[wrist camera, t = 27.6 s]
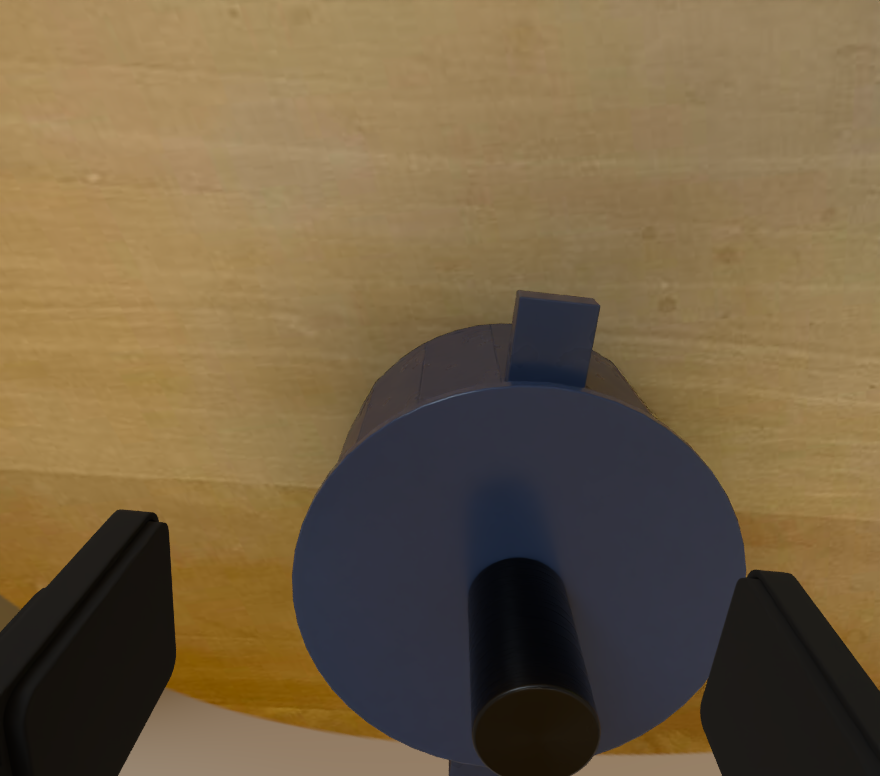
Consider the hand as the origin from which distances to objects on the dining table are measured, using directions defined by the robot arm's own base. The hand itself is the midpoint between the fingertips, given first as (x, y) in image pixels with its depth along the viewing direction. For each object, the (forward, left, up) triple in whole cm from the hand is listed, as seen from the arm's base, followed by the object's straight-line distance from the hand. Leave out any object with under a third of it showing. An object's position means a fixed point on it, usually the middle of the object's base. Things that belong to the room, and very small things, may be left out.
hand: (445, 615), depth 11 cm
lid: (-3, +6, -10) cm, 12 cm away
